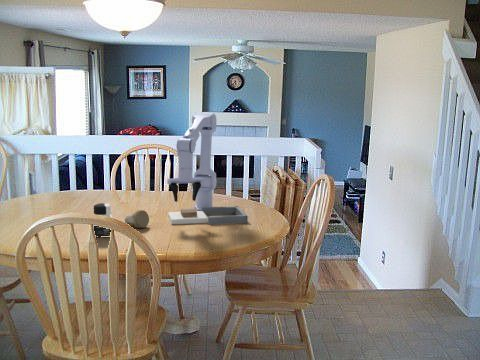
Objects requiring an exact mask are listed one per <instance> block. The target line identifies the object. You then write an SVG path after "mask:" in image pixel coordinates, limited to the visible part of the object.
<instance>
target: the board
mask: <svg viewBox="0 0 480 360" xmlns="http://www.w3.org/2000/svg"><path fill="white" fill-rule="evenodd" d="M196 211H197V217H182V215H181V211H168V212H167V214H168V216H167V217H168V219H169V222H170V224H171V225H185V224H187V225H188V224H189V225H190V224H208V215H205V214H204V212H203V211H202V210H196Z"/></svg>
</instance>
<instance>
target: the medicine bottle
mask: <svg viewBox="0 0 480 360" xmlns="http://www.w3.org/2000/svg"><path fill="white" fill-rule="evenodd" d="M111 209H112V208H111V205H110V204H109V203H106V202H103V203H101V202H100V203H96V204H94V205H93V215H94V214H95V215H102V216H107V217H111V218H112V219H113V214H111V213H112V212H111ZM94 231H95V235H96V237H97V236H98V237H101V236H110V232H111V230H110V229H106V228H103V227H99V226H94Z"/></svg>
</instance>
